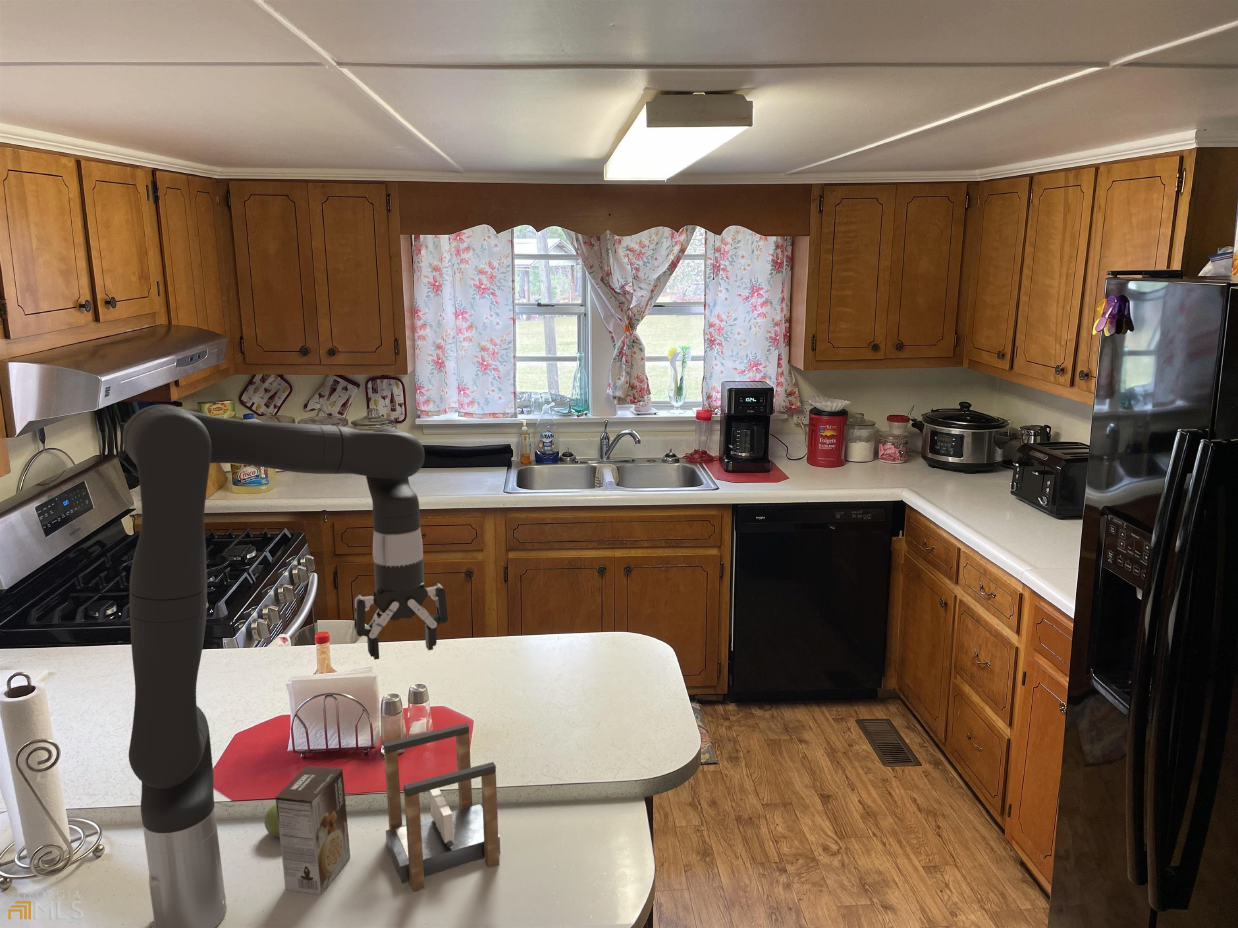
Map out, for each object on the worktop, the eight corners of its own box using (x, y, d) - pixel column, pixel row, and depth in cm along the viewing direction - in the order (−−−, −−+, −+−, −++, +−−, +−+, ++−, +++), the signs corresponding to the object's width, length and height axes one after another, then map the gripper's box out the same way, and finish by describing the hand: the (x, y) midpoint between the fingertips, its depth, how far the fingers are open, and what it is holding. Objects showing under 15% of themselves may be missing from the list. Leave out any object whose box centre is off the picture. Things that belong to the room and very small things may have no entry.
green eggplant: (281, 791, 153) (330, 812, 150) (279, 817, 154) (327, 838, 151) (258, 809, 148) (307, 831, 145) (256, 836, 149) (305, 858, 146)
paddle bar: (445, 848, 141) (444, 816, 140) (430, 817, 149) (428, 787, 148) (454, 846, 142) (453, 814, 140) (438, 815, 149) (437, 785, 148)
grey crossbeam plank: (405, 796, 133) (405, 789, 133) (403, 792, 134) (403, 784, 134) (495, 772, 139) (495, 765, 139) (493, 768, 140) (493, 761, 140)
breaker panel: (401, 883, 138) (400, 865, 137) (386, 846, 147) (385, 829, 146) (500, 852, 145) (499, 835, 144) (480, 819, 154) (480, 803, 153)
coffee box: (315, 852, 145) (307, 762, 142) (351, 857, 144) (344, 767, 141) (283, 890, 137) (274, 795, 133) (322, 896, 135) (313, 800, 132)
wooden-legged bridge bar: (385, 753, 145) (384, 746, 144) (383, 749, 146) (383, 742, 146) (469, 732, 151) (468, 726, 151) (467, 729, 152) (466, 723, 152)
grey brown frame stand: (412, 891, 136) (407, 797, 133) (389, 835, 150) (383, 748, 146) (499, 864, 142) (495, 773, 139) (469, 812, 156) (465, 728, 152)
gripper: (355, 569, 134) (361, 670, 137) (449, 557, 140) (453, 654, 143) (347, 555, 140) (353, 651, 144) (437, 543, 146) (441, 636, 150)
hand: (403, 652), depth 143 cm, fingers open, 8 cm apart
